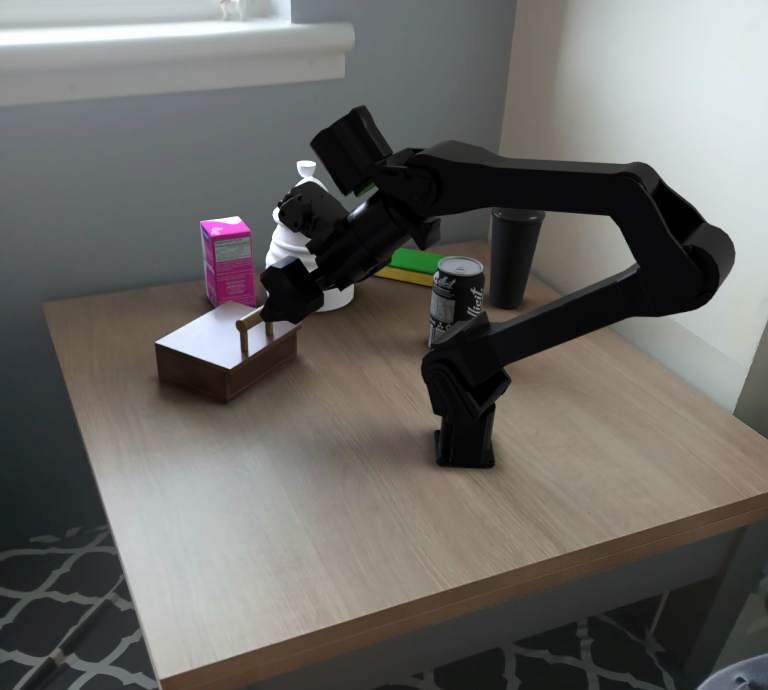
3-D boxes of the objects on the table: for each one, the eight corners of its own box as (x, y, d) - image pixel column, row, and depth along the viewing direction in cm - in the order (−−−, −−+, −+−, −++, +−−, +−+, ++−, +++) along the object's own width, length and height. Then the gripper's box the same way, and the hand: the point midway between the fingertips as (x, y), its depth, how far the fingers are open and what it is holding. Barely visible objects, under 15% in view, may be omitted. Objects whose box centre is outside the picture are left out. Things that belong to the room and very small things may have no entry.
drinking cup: (474, 308, 129) (491, 168, 117) (485, 288, 135) (502, 152, 122) (526, 317, 127) (549, 176, 115) (534, 296, 133) (557, 160, 121)
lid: (302, 328, 112) (301, 293, 109) (230, 374, 102) (228, 337, 99) (230, 304, 116) (228, 270, 113) (154, 347, 106) (150, 311, 103)
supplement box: (205, 298, 127) (198, 219, 120) (244, 292, 129) (240, 215, 122) (216, 315, 123) (211, 235, 116) (257, 309, 125) (254, 230, 118)
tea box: (297, 357, 115) (296, 326, 112) (227, 405, 105) (225, 373, 102) (232, 334, 119) (230, 305, 116) (158, 379, 108) (154, 347, 106)
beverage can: (476, 341, 121) (486, 257, 113) (475, 364, 116) (486, 277, 108) (428, 337, 121) (435, 252, 114) (425, 359, 116) (433, 272, 108)
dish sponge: (445, 290, 133) (447, 274, 132) (360, 273, 137) (361, 258, 135) (458, 273, 139) (460, 258, 137) (376, 257, 142) (377, 242, 141)
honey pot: (257, 279, 133) (252, 156, 122) (337, 271, 137) (340, 151, 126) (279, 316, 124) (276, 186, 113) (365, 306, 128) (371, 180, 116)
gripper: (374, 143, 96) (291, 220, 106) (273, 187, 83) (190, 270, 93) (432, 231, 98) (345, 298, 108) (342, 288, 85) (253, 357, 95)
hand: (286, 303), depth 101 cm, fingers open, 9 cm apart
